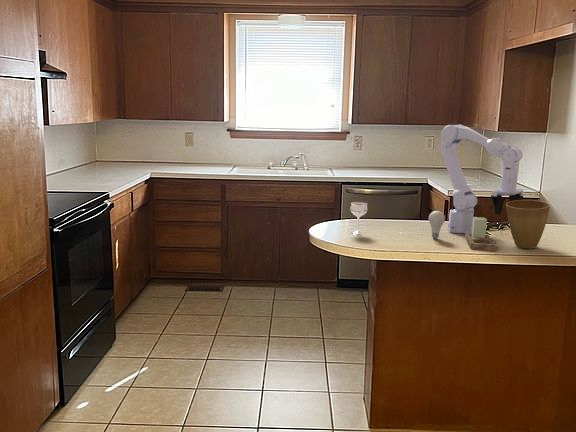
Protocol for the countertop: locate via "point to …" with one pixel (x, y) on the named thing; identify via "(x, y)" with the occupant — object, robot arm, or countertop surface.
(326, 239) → the countertop surface
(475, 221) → the green block
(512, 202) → the plant pot
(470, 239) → the pocket rack
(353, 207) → the wineglass
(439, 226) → the lightbulb
